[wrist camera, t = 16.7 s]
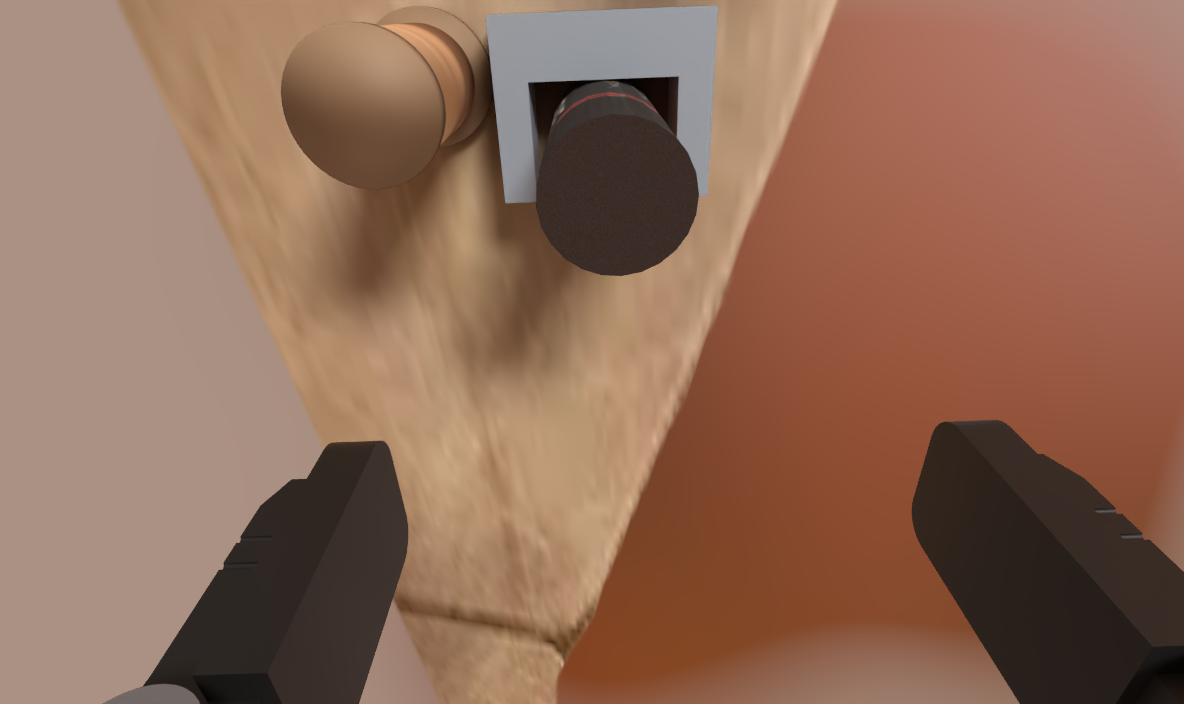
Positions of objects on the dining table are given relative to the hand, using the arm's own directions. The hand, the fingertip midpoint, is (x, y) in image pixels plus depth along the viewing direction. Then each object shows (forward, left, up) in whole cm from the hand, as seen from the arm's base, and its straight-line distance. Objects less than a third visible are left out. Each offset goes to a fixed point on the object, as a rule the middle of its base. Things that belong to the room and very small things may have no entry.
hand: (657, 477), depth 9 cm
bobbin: (-3, -10, -30) cm, 32 cm away
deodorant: (0, 0, -30) cm, 30 cm away
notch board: (-2, 0, -30) cm, 30 cm away
